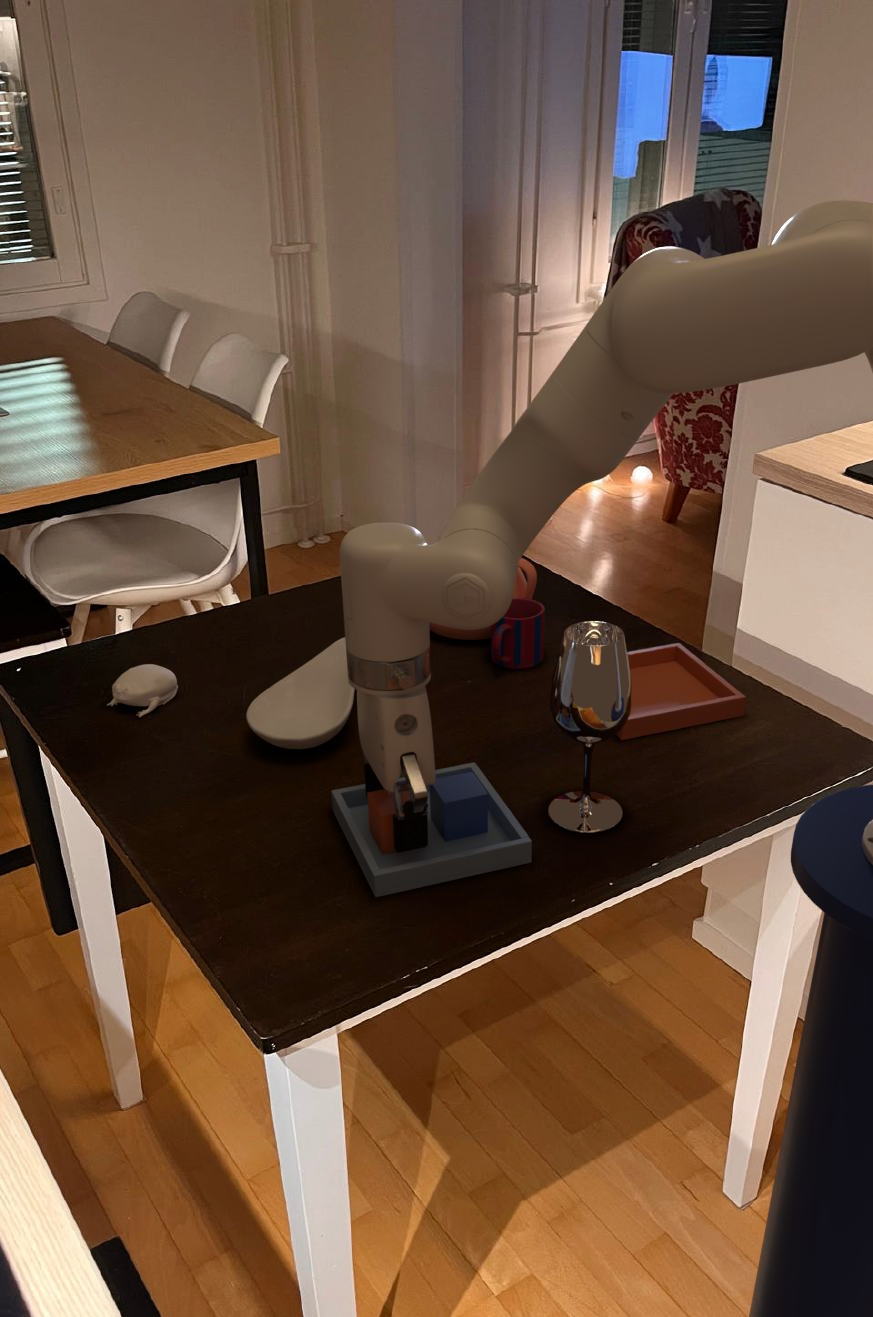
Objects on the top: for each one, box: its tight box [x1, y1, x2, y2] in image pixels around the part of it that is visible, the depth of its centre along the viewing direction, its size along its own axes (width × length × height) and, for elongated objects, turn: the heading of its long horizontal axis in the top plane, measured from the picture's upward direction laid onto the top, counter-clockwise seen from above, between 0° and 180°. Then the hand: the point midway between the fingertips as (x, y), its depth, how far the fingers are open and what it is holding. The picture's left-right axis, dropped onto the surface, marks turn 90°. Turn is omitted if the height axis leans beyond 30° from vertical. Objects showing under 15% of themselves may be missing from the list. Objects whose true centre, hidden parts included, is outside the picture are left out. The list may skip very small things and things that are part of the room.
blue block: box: [430, 772, 488, 841], centre depth 117 cm, size 4×4×4 cm
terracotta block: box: [367, 789, 410, 855], centre depth 115 cm, size 4×4×4 cm
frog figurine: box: [106, 663, 179, 718], centre depth 143 cm, size 8×7×4 cm
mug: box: [490, 598, 546, 670], centre depth 148 cm, size 7×10×7 cm
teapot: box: [429, 557, 538, 641], centre depth 158 cm, size 22×16×12 cm
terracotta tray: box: [615, 642, 747, 741], centre depth 140 cm, size 16×16×2 cm
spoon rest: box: [245, 636, 356, 750], centre depth 137 cm, size 24×12×7 cm, turn 153°
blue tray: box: [330, 762, 533, 898], centre depth 117 cm, size 16×16×2 cm
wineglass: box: [547, 620, 632, 834], centre depth 115 cm, size 8×8×20 cm
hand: (396, 821), depth 115 cm, fingers open, 9 cm apart
